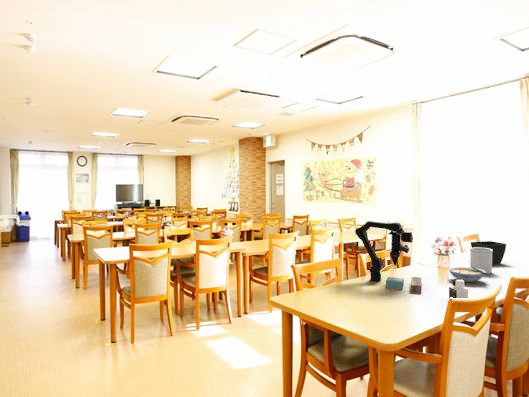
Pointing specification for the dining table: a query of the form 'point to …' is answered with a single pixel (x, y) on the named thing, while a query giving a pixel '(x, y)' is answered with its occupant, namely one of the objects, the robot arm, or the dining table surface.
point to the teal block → (394, 283)
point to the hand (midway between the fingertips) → (395, 264)
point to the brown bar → (416, 285)
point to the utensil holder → (481, 258)
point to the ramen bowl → (467, 273)
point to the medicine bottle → (458, 289)
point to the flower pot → (495, 246)
